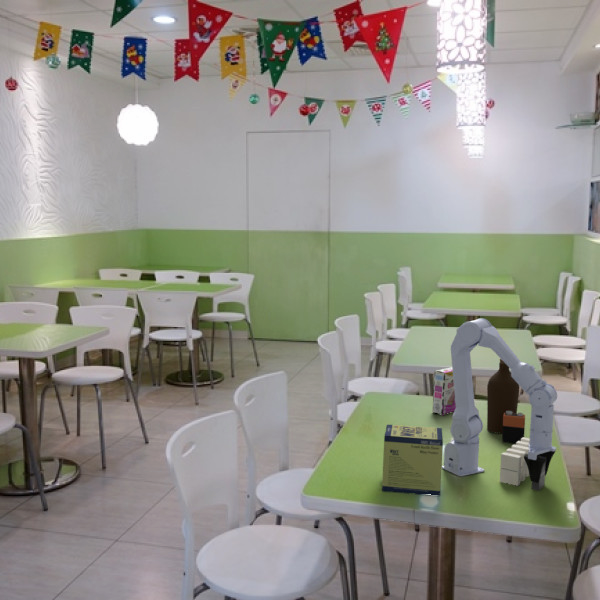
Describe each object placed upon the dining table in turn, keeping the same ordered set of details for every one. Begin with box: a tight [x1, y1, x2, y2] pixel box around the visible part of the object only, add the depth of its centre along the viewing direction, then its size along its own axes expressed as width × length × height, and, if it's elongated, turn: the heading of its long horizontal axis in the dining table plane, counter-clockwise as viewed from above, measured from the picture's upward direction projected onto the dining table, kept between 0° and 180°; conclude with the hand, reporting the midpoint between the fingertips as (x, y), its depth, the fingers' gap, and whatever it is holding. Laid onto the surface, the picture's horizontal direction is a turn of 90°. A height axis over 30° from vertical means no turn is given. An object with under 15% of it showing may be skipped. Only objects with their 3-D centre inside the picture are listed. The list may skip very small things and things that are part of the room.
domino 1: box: [499, 451, 521, 487], centre depth 190 cm, size 2×5×8 cm, turn 54°
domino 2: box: [505, 447, 526, 482], centre depth 194 cm, size 2×5×8 cm, turn 54°
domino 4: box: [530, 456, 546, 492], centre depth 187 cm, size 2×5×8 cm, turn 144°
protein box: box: [381, 424, 444, 496], centre depth 186 cm, size 10×16×16 cm
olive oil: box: [486, 358, 520, 435], centre depth 237 cm, size 11×11×25 cm
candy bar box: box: [432, 366, 456, 416], centre depth 259 cm, size 11×5×16 cm, turn 133°
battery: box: [501, 411, 526, 445], centre depth 226 cm, size 4×7×10 cm, turn 72°
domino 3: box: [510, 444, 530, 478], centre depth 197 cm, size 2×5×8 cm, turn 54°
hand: (538, 478), depth 187 cm, fingers open, 6 cm apart
